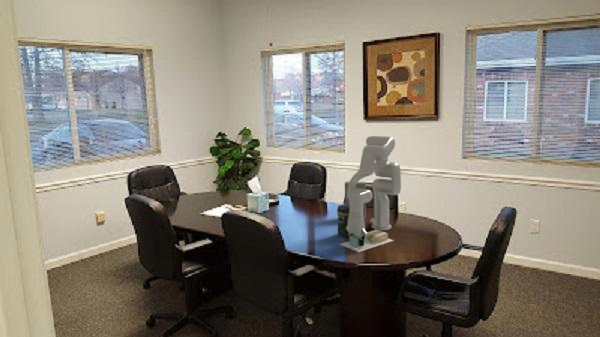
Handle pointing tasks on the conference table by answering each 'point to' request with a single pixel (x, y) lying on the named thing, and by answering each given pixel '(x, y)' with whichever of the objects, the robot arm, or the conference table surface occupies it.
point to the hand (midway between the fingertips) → (356, 243)
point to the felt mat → (365, 245)
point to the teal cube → (354, 241)
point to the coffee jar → (343, 220)
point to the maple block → (377, 236)
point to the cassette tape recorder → (359, 185)
